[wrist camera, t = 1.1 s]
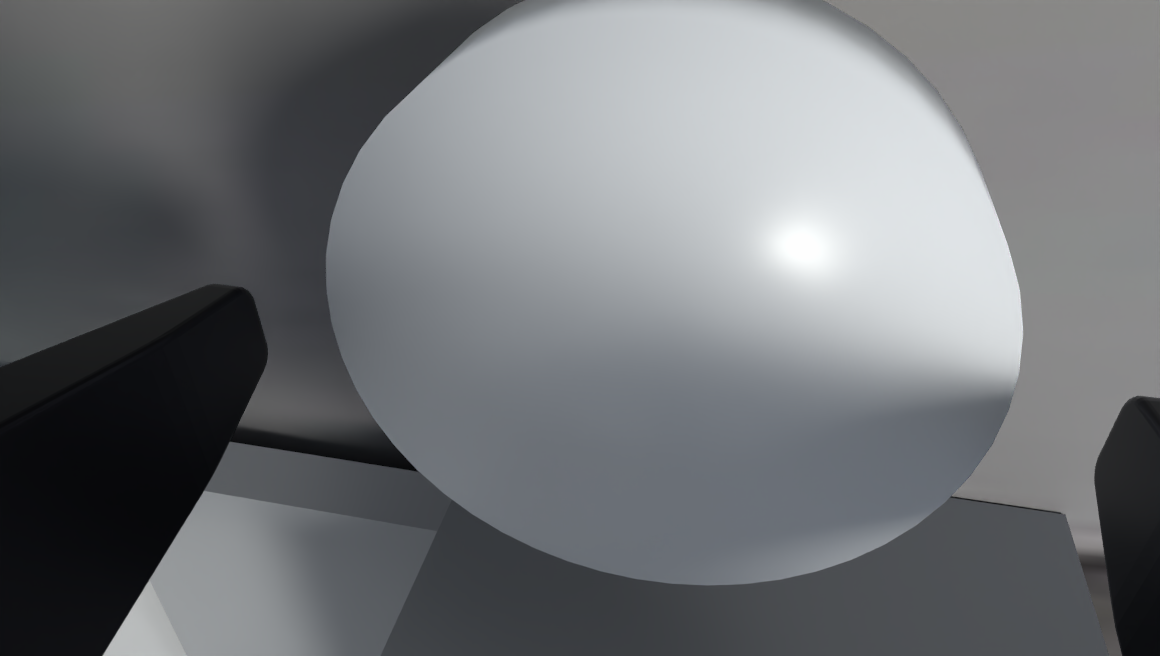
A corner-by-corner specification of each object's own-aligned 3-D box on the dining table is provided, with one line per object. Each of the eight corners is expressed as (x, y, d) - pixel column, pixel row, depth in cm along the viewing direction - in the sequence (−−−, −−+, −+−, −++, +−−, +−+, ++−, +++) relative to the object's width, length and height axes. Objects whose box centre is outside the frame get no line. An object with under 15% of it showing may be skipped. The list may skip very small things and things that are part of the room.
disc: (913, 527, 11) (924, 629, 10) (423, 452, 13) (379, 534, 11) (1091, -19, 7) (1149, 40, 6) (338, -48, 9) (256, -6, 7)
